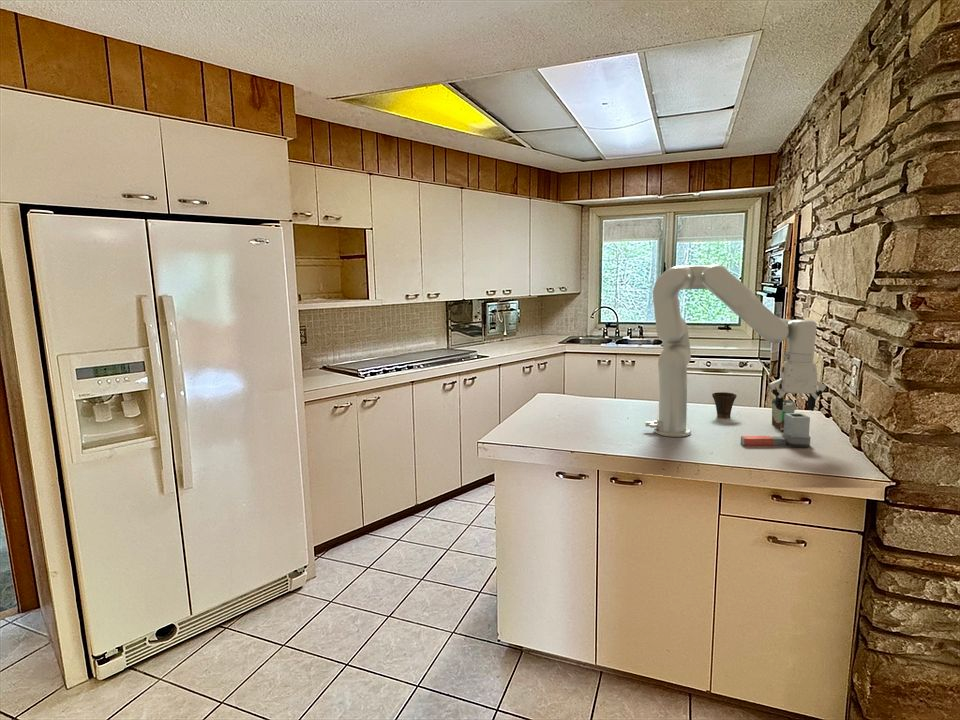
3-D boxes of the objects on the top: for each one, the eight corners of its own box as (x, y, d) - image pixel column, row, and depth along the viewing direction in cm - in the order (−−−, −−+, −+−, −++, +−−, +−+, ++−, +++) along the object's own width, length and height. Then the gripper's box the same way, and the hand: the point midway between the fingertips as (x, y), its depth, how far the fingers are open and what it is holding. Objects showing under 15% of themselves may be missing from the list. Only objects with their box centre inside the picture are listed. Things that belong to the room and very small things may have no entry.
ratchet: (746, 448, 175) (747, 430, 174) (737, 441, 183) (738, 423, 182) (814, 448, 173) (816, 429, 172) (802, 441, 180) (803, 423, 180)
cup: (728, 420, 206) (726, 394, 206) (708, 418, 214) (707, 393, 214) (743, 417, 210) (741, 392, 210) (723, 416, 218) (721, 391, 218)
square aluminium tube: (791, 438, 174) (792, 417, 173) (783, 433, 179) (784, 413, 178) (808, 438, 174) (809, 417, 173) (800, 433, 179) (801, 413, 178)
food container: (800, 433, 188) (802, 406, 187) (781, 433, 190) (783, 405, 188) (788, 424, 200) (789, 398, 199) (770, 424, 202) (771, 398, 200)
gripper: (776, 359, 170) (771, 411, 173) (834, 360, 168) (828, 413, 171) (766, 355, 177) (762, 406, 180) (821, 356, 176) (816, 407, 178)
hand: (794, 409), depth 176 cm, fingers open, 9 cm apart
